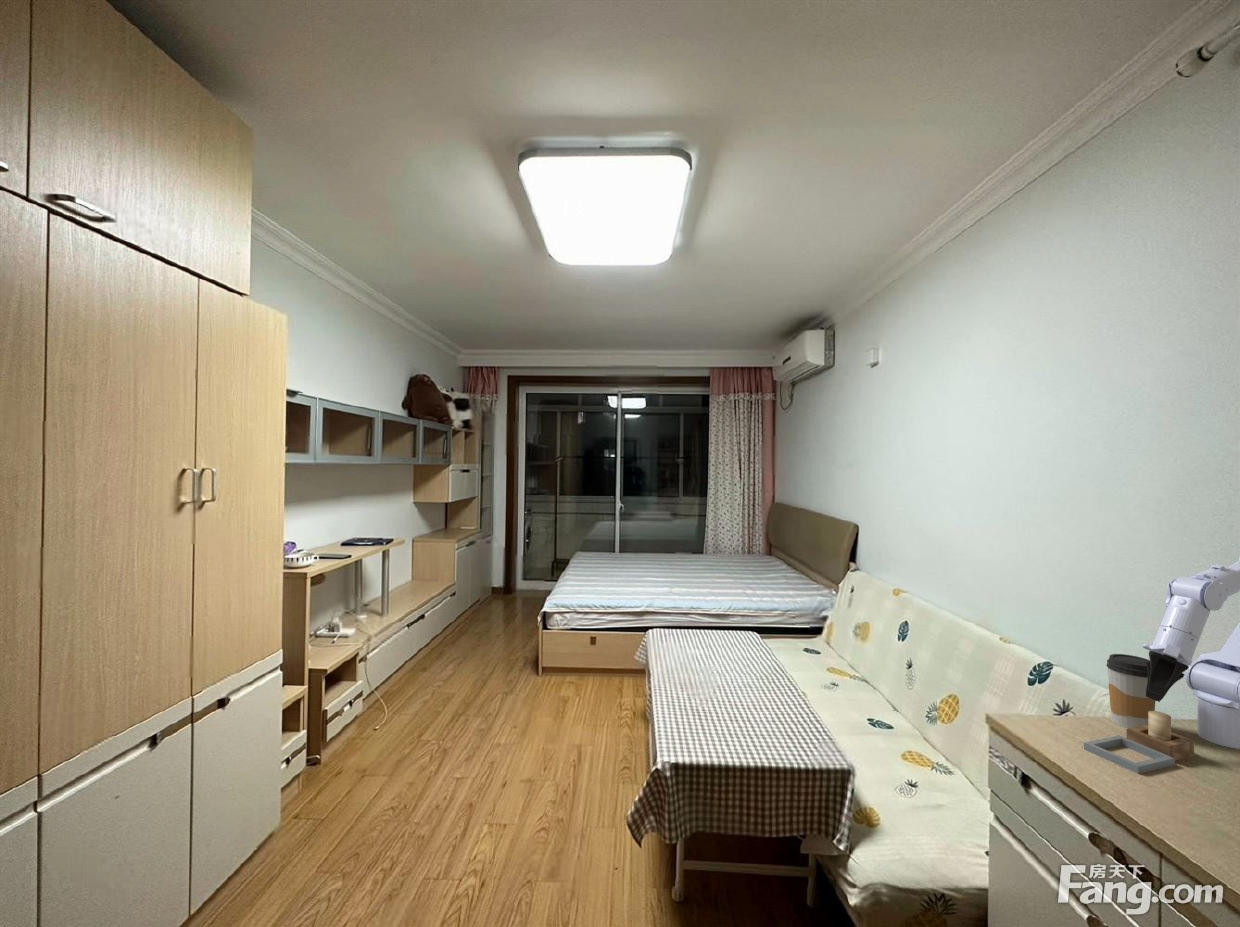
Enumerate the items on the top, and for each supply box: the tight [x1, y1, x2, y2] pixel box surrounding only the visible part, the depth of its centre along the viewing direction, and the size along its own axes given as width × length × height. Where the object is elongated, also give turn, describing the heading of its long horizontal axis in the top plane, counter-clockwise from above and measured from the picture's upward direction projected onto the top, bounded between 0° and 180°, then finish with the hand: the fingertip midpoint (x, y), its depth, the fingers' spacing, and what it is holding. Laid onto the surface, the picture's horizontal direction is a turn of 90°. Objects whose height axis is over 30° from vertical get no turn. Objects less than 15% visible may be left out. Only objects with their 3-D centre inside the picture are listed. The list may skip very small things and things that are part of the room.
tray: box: [1083, 735, 1176, 775], centre depth 106 cm, size 10×9×2 cm
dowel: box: [1148, 710, 1172, 742], centre depth 109 cm, size 3×3×7 cm
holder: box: [1126, 725, 1195, 762], centre depth 109 cm, size 7×7×4 cm
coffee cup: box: [1105, 653, 1157, 729], centre depth 119 cm, size 8×8×15 cm
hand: (1153, 696), depth 108 cm, fingers open, 7 cm apart
